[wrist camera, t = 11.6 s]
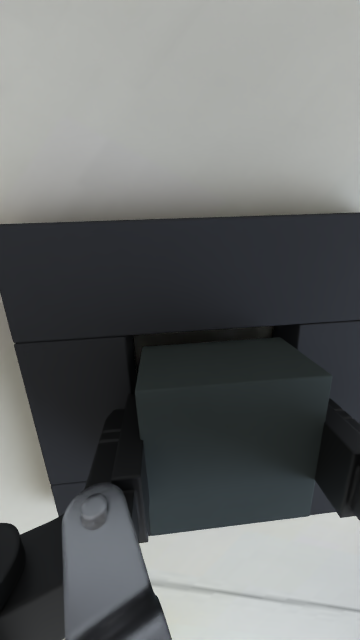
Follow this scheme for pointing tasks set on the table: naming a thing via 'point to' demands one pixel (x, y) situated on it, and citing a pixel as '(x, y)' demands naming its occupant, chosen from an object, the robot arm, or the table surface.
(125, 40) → the table surface
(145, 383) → the dark grey square block
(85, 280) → the base pad
